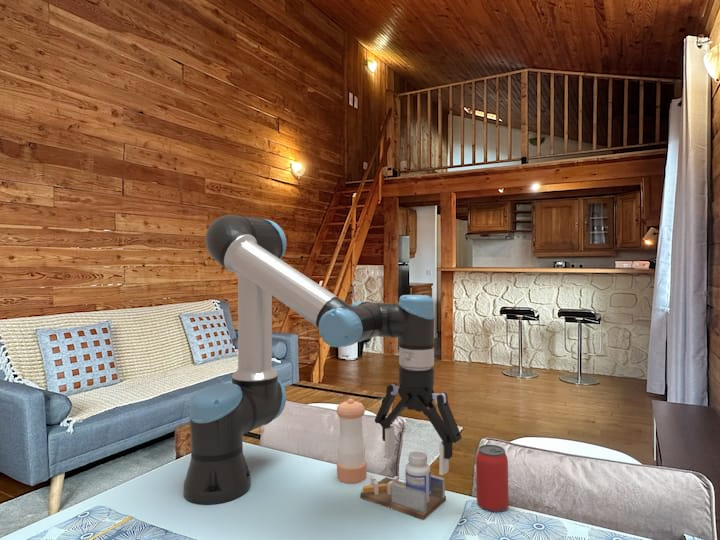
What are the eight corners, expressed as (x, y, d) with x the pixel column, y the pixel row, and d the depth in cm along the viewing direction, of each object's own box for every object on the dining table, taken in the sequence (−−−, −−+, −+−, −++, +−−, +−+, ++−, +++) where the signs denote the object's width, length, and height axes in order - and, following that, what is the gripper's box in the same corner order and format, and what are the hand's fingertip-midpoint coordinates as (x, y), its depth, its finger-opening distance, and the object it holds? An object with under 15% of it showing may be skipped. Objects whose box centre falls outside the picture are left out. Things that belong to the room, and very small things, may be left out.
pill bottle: (416, 491, 107) (415, 448, 107) (436, 499, 103) (435, 454, 103) (400, 499, 103) (399, 455, 103) (420, 508, 99) (419, 462, 99)
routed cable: (360, 491, 107) (360, 481, 107) (378, 480, 113) (377, 470, 113) (388, 501, 103) (388, 490, 103) (405, 489, 108) (404, 478, 108)
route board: (360, 497, 107) (360, 493, 106) (385, 481, 114) (385, 477, 114) (423, 520, 97) (423, 515, 97) (446, 500, 105) (446, 495, 105)
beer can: (510, 514, 99) (509, 456, 98) (477, 511, 100) (476, 454, 100) (506, 498, 105) (506, 444, 105) (476, 496, 106) (475, 442, 106)
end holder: (391, 502, 102) (391, 484, 102) (413, 486, 109) (413, 469, 109) (424, 514, 97) (424, 494, 97) (444, 496, 104) (444, 478, 104)
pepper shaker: (341, 469, 121) (339, 394, 121) (369, 471, 120) (367, 395, 120) (333, 482, 114) (332, 402, 114) (363, 484, 113) (362, 404, 113)
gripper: (359, 361, 108) (359, 455, 108) (462, 378, 92) (461, 487, 93) (379, 356, 113) (378, 445, 114) (478, 371, 98) (477, 473, 99)
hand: (415, 464), depth 103 cm, fingers open, 13 cm apart
